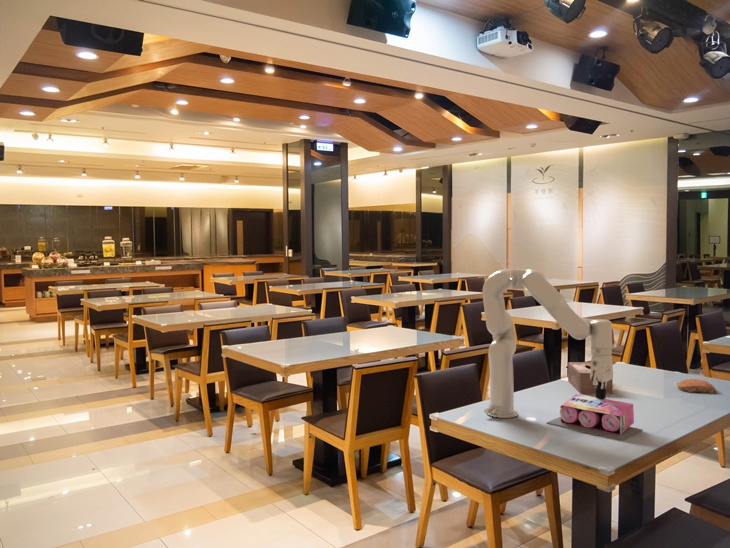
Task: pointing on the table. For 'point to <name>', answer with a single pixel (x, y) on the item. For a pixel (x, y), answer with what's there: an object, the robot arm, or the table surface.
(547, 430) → the table surface
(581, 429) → the mat
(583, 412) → the gum box
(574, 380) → the tissue box cover
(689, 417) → the table surface
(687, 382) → the ceramic shard
